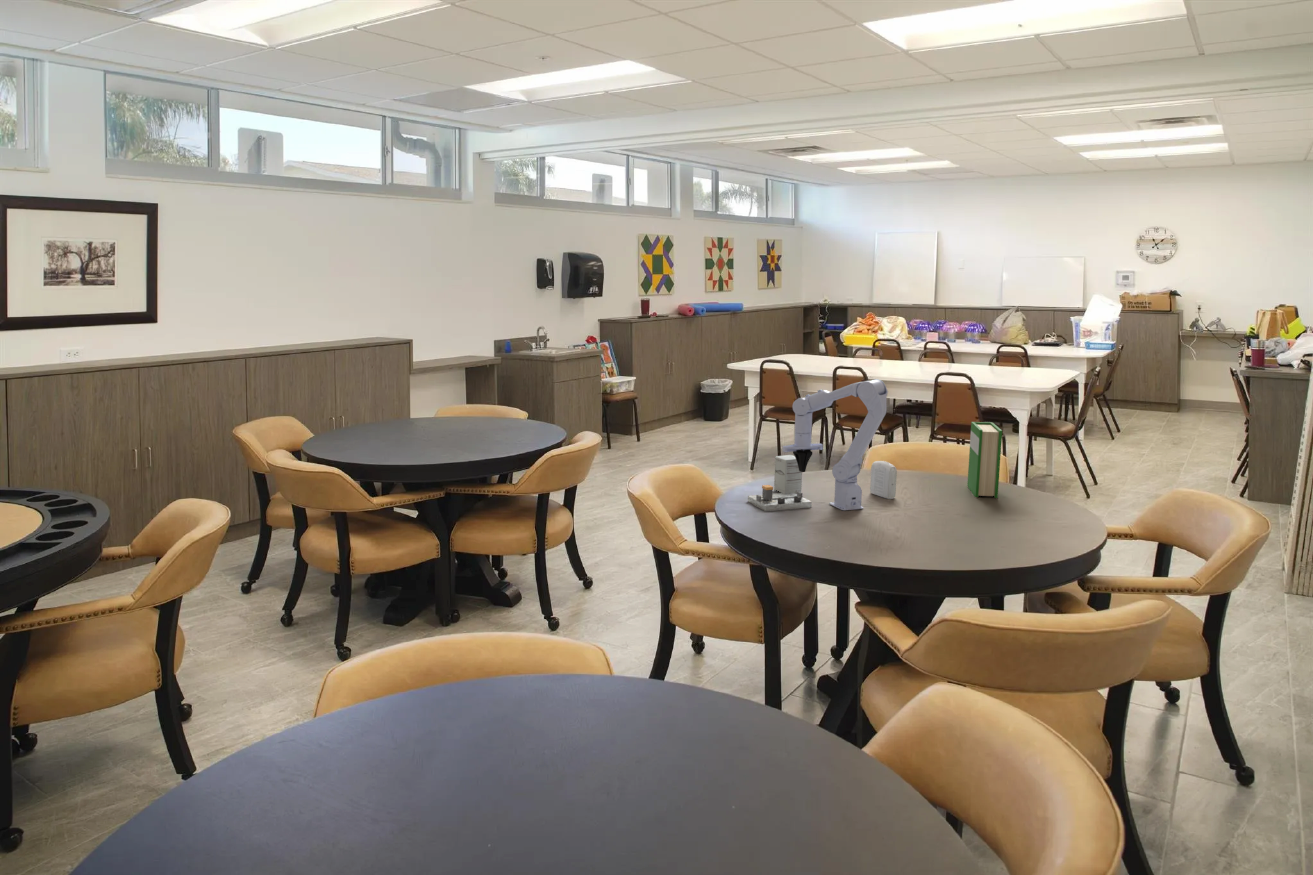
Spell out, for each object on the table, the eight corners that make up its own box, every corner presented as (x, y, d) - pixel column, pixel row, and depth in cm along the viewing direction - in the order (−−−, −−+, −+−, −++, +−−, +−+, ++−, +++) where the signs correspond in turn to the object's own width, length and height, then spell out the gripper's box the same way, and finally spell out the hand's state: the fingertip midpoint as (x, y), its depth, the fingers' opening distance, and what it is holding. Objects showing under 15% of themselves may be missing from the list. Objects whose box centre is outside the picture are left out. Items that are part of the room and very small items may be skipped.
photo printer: (897, 498, 325) (899, 463, 323) (887, 499, 323) (889, 464, 321) (877, 492, 334) (878, 458, 332) (868, 493, 332) (869, 459, 330)
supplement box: (773, 490, 336) (774, 456, 334) (790, 488, 339) (791, 454, 337) (784, 494, 329) (785, 459, 327) (802, 492, 332) (803, 458, 330)
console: (811, 507, 312) (811, 496, 311) (765, 511, 307) (765, 500, 306) (792, 497, 325) (792, 487, 324) (747, 501, 320) (748, 491, 319)
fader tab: (772, 499, 313) (773, 486, 312) (765, 500, 312) (766, 487, 311) (768, 497, 316) (769, 484, 315) (761, 498, 315) (762, 485, 314)
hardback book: (997, 498, 325) (1002, 430, 321) (975, 497, 326) (979, 430, 322) (988, 487, 342) (992, 422, 338) (967, 486, 343) (971, 421, 339)
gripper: (816, 429, 325) (815, 467, 327) (778, 431, 320) (777, 470, 323) (826, 432, 318) (825, 471, 321) (788, 435, 314) (787, 474, 316)
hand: (802, 471), depth 321 cm, fingers closed
